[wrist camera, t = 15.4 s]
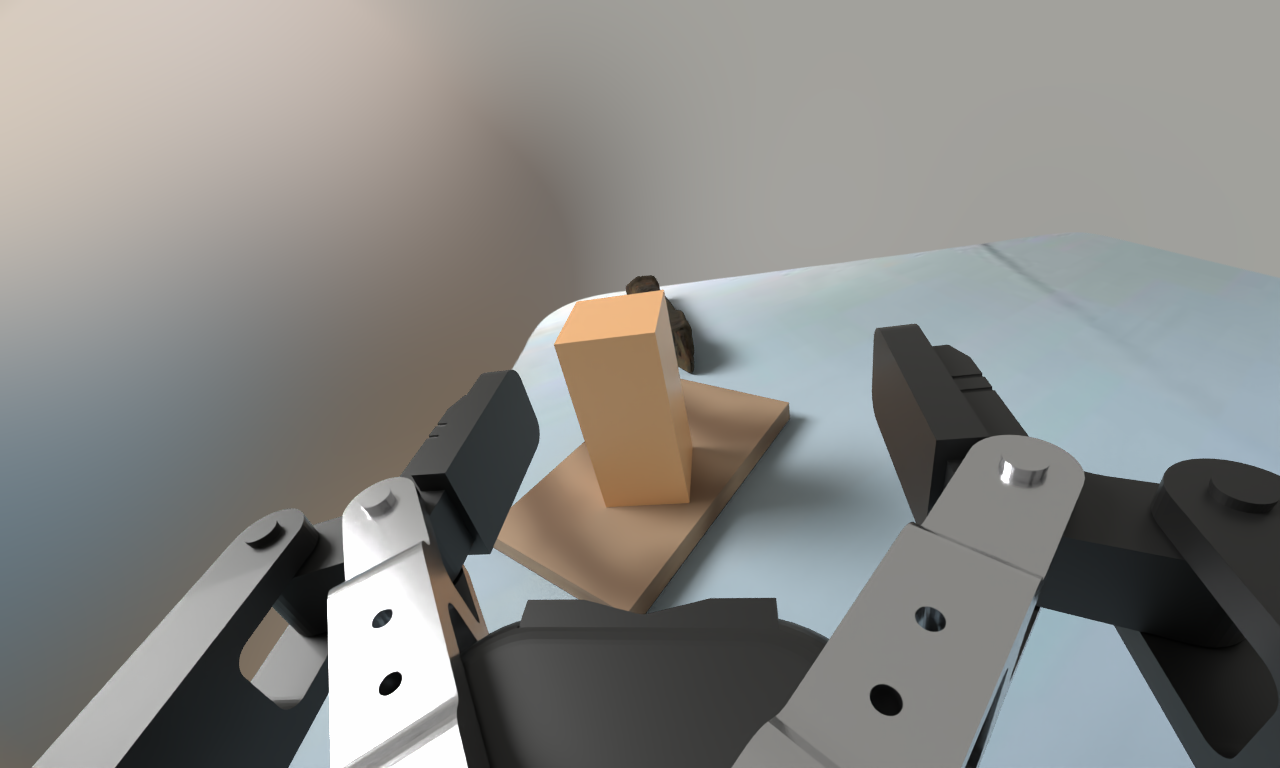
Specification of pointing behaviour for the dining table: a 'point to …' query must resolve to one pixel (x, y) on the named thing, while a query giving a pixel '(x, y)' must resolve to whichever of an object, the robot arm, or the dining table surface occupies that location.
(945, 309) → the dining table surface
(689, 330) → the dark brown rough bar
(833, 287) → the dining table surface
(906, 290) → the dining table surface
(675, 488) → the light orange rectangular block
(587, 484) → the jig plate
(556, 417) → the dining table surface
